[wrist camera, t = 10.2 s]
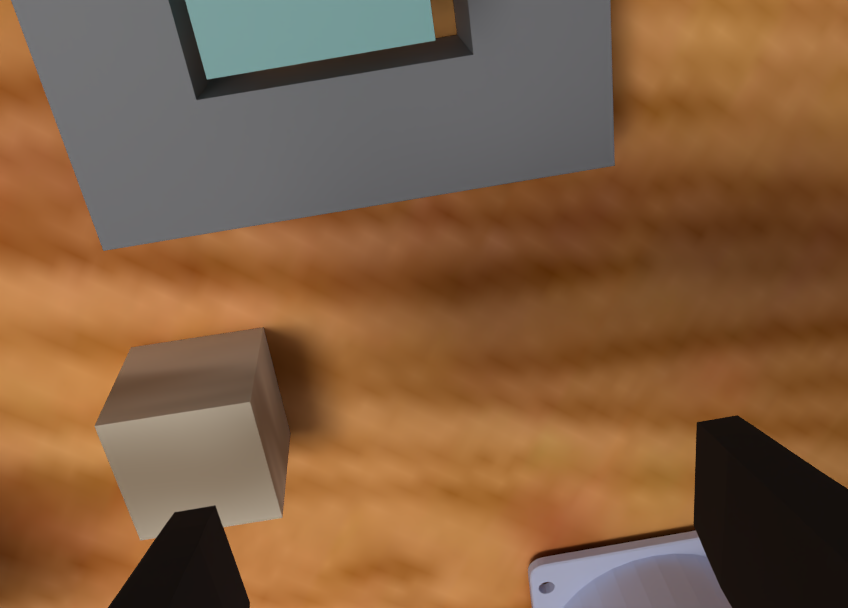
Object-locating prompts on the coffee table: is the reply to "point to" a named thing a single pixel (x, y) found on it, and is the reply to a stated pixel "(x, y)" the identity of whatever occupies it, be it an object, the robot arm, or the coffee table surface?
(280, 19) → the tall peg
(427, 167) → the hole board
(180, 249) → the coffee table surface
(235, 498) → the beige cube
